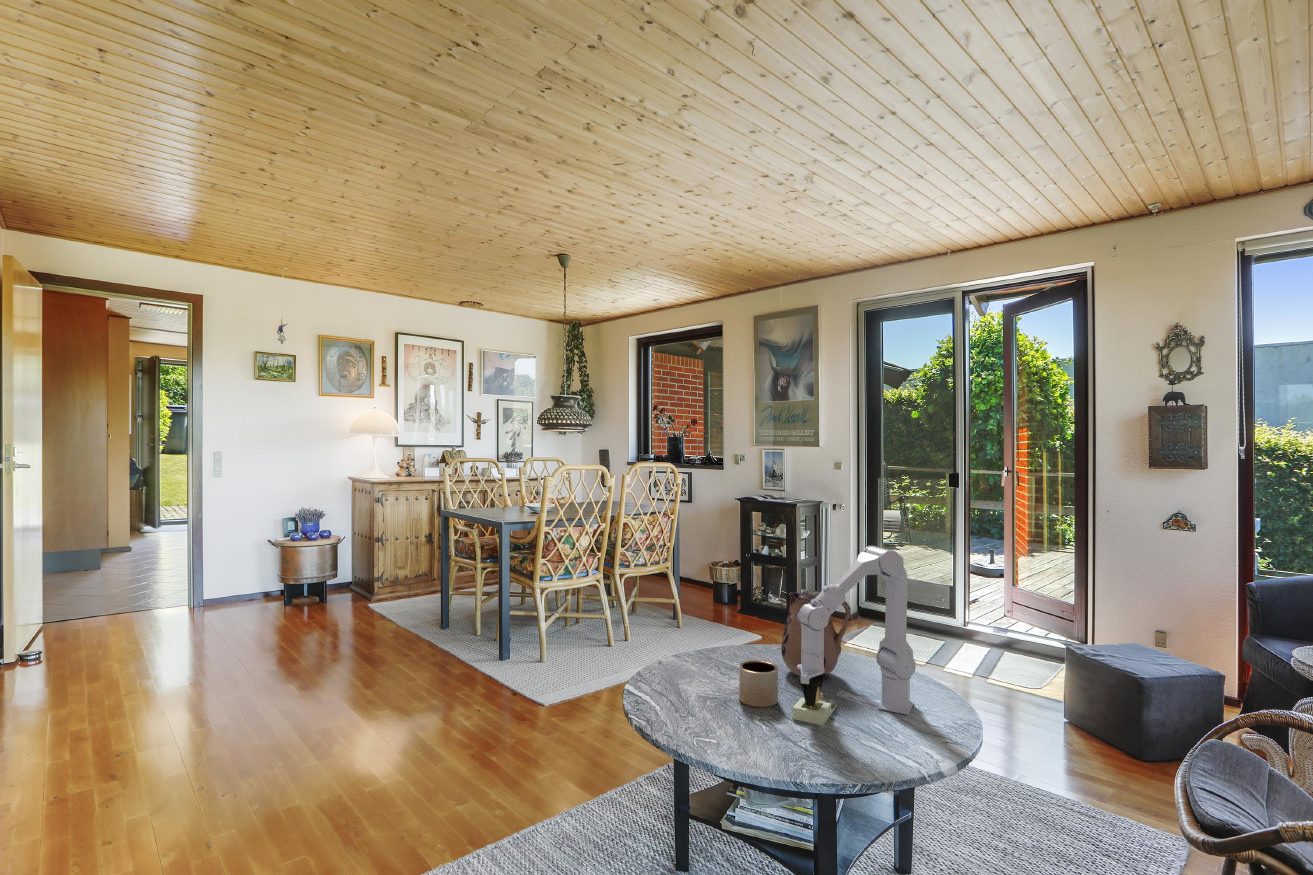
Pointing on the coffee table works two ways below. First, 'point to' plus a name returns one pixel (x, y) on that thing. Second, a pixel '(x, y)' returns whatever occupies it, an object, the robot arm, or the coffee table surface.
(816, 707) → the brass pin
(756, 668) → the planter
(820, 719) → the slot jig
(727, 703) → the coffee table surface
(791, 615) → the ceramic pitcher
